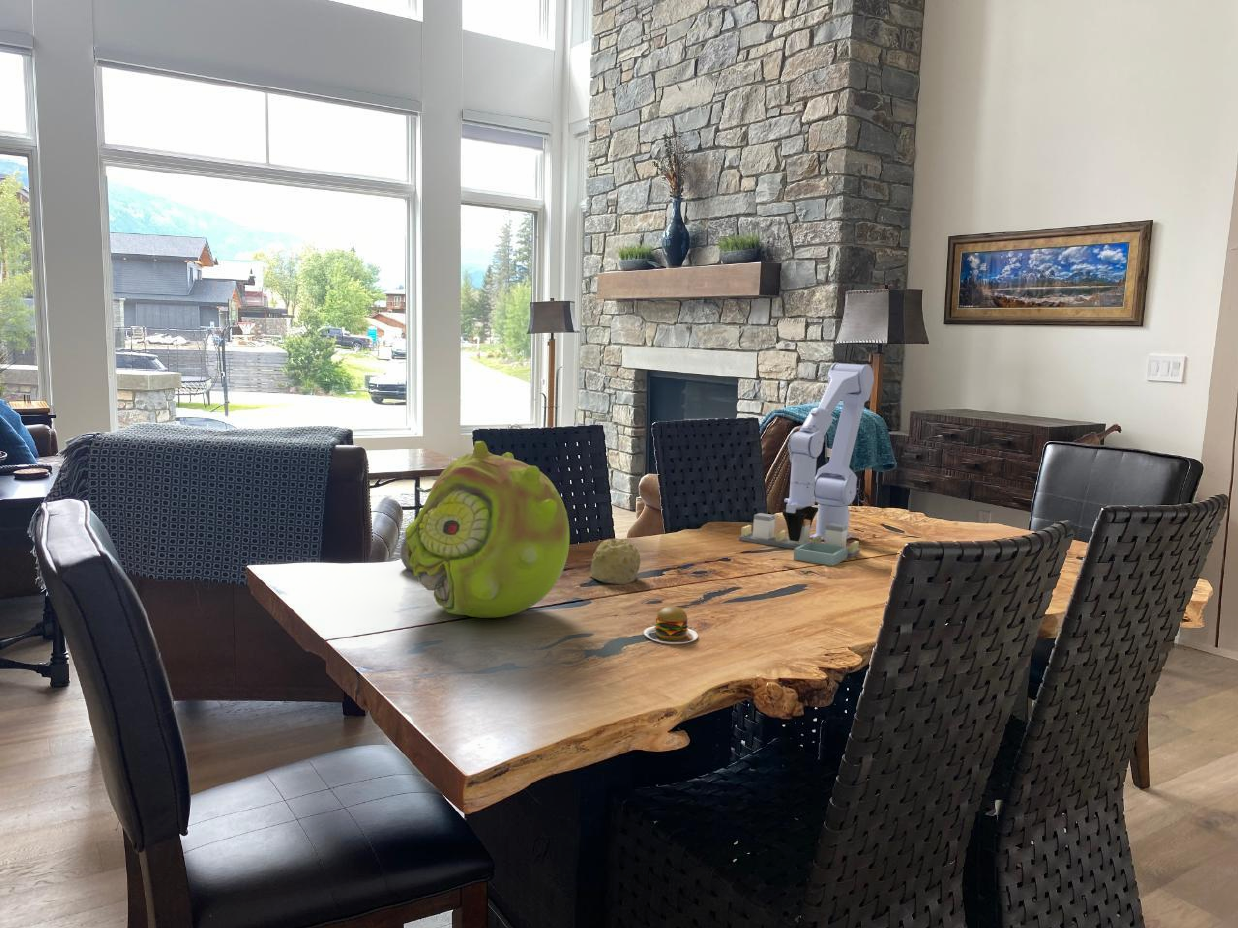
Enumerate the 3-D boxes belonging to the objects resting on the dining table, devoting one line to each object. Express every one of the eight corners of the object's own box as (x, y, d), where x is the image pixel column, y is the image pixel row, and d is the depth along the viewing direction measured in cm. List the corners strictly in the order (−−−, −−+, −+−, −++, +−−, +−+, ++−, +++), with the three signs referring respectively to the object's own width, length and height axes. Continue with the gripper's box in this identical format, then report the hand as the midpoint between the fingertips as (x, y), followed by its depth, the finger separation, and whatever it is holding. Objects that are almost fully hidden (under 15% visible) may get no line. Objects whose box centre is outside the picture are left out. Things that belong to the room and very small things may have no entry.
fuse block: (749, 536, 237) (749, 524, 237) (859, 553, 223) (860, 540, 223) (738, 540, 232) (739, 528, 232) (851, 558, 218) (852, 545, 218)
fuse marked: (793, 540, 230) (794, 517, 229) (808, 542, 228) (810, 520, 227) (787, 542, 227) (789, 520, 226) (803, 545, 225) (805, 522, 224)
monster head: (392, 594, 173) (394, 430, 169) (538, 586, 183) (544, 430, 178) (418, 648, 144) (421, 452, 140) (590, 635, 154) (598, 452, 150)
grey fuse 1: (758, 534, 235) (759, 512, 234) (773, 537, 233) (775, 515, 232) (752, 537, 232) (754, 515, 231) (768, 539, 230) (769, 517, 229)
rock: (630, 589, 196) (617, 544, 199) (654, 574, 187) (640, 527, 190) (589, 598, 192) (576, 551, 194) (611, 583, 182) (597, 534, 185)
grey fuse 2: (829, 545, 226) (830, 523, 225) (845, 548, 224) (847, 525, 223) (824, 548, 223) (825, 525, 222) (840, 550, 221) (842, 527, 220)
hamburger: (648, 654, 148) (650, 620, 147) (624, 630, 159) (625, 599, 159) (719, 649, 152) (721, 616, 151) (690, 626, 163) (692, 595, 163)
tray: (808, 551, 223) (809, 541, 222) (847, 557, 218) (848, 547, 218) (793, 559, 214) (794, 548, 214) (833, 566, 210) (834, 555, 209)
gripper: (797, 477, 234) (793, 531, 236) (775, 483, 221) (771, 540, 223) (824, 480, 230) (820, 535, 232) (804, 487, 218) (800, 545, 220)
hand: (798, 538), depth 227 cm, fingers open, 6 cm apart
